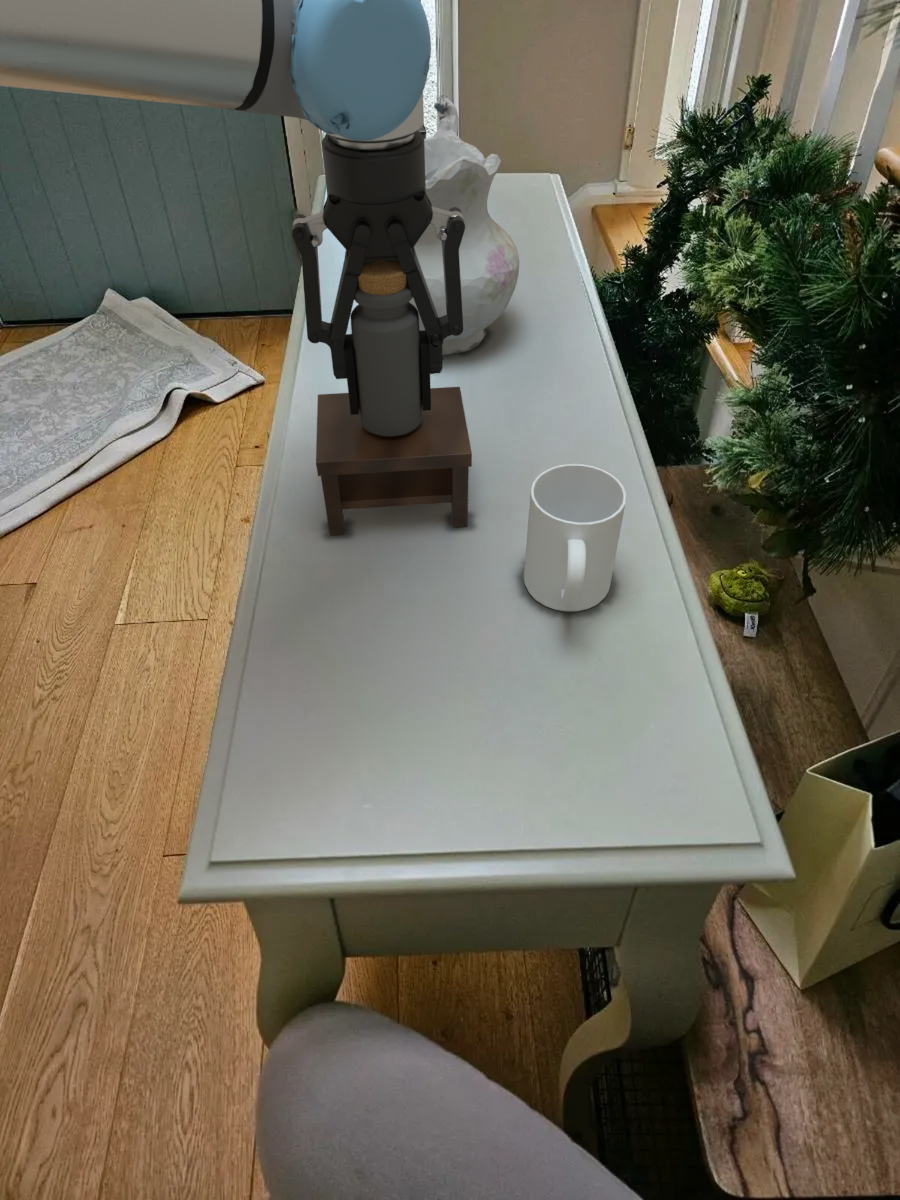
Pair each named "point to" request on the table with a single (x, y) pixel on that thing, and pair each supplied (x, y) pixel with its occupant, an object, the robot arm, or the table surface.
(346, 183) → the robot arm
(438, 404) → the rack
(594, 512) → the mug
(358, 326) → the bottle
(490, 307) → the ceramic pitcher
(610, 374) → the table surface
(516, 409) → the table surface
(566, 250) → the table surface
